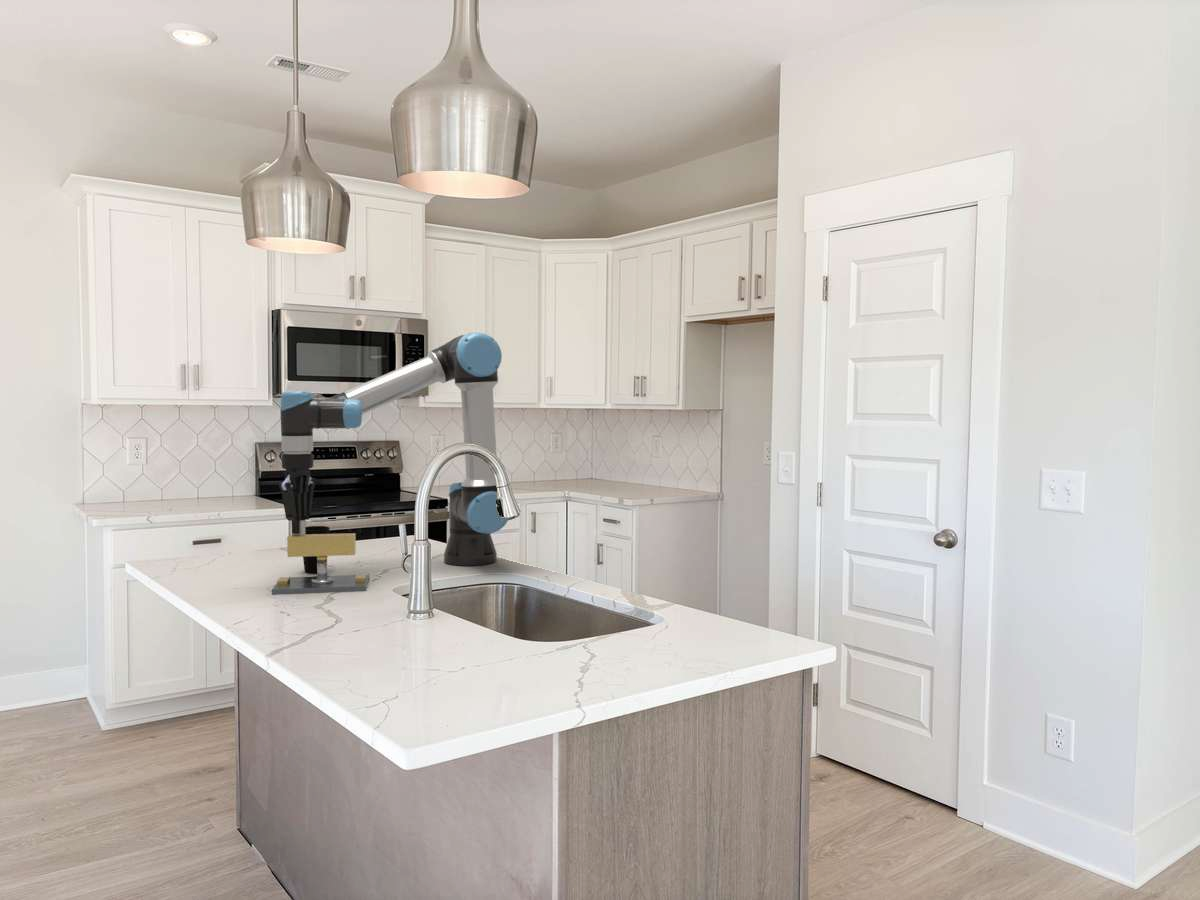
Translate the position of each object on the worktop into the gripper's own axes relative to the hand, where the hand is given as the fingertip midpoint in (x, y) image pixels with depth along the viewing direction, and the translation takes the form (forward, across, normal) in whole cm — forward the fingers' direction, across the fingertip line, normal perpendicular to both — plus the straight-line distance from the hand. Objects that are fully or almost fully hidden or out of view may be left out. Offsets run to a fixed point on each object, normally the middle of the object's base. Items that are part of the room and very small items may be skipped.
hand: (299, 545), depth 222 cm
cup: (+10, -15, -5) cm, 19 cm away
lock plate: (+10, 0, +6) cm, 12 cm away
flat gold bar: (+4, 0, +6) cm, 7 cm away
